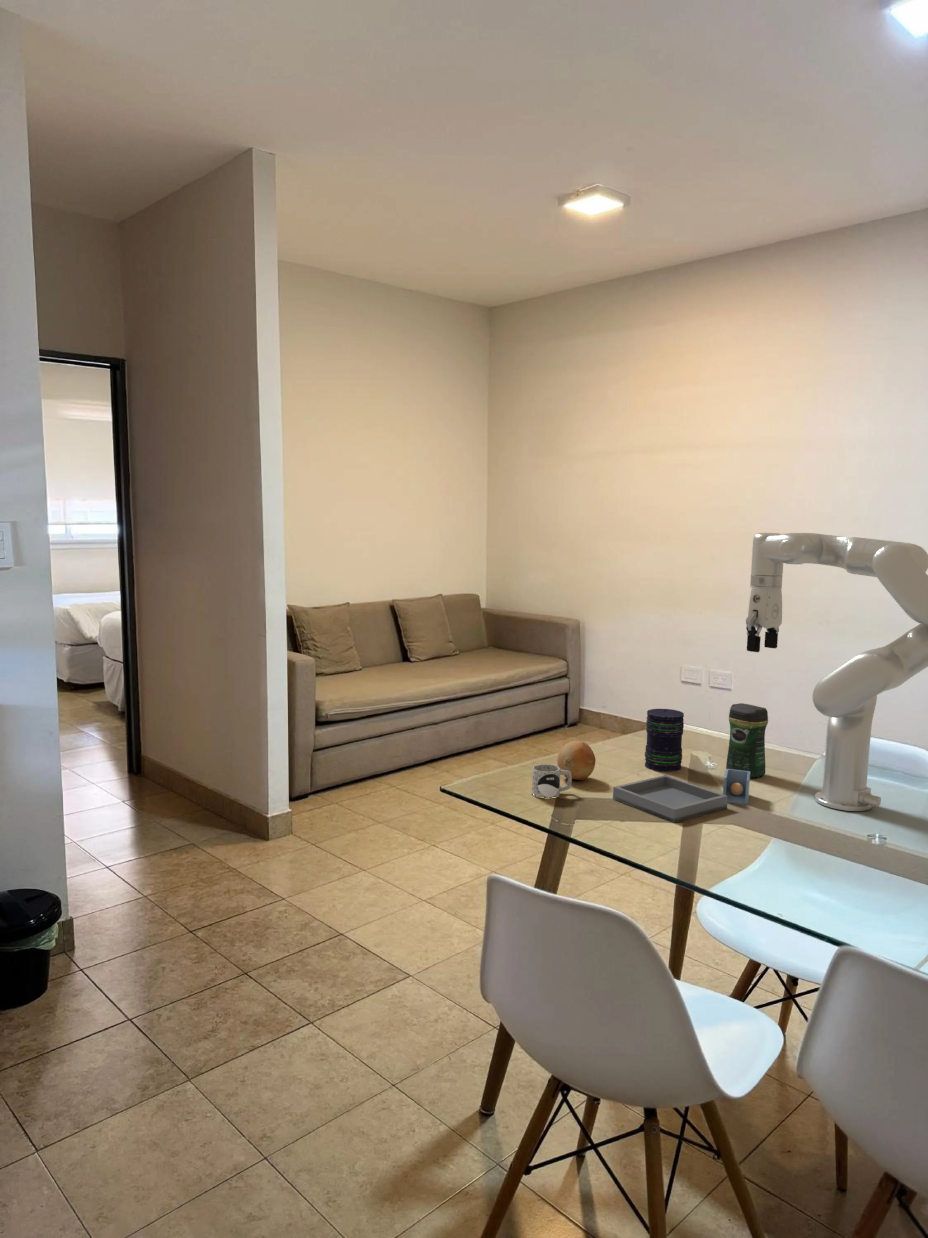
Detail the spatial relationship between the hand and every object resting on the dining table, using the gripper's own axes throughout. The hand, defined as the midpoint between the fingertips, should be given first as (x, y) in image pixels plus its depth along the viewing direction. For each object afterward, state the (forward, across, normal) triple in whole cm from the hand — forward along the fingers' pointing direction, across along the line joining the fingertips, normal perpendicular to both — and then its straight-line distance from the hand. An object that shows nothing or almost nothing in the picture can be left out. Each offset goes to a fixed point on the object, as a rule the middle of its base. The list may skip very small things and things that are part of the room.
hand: (762, 649), depth 220 cm
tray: (+34, -33, +5) cm, 48 cm away
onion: (+34, -34, +32) cm, 58 cm away
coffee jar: (+34, +4, +4) cm, 35 cm away
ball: (+32, -16, -3) cm, 36 cm away
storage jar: (+34, -7, +23) cm, 42 cm away
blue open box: (+34, -17, -4) cm, 38 cm away
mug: (+34, -48, +28) cm, 65 cm away
